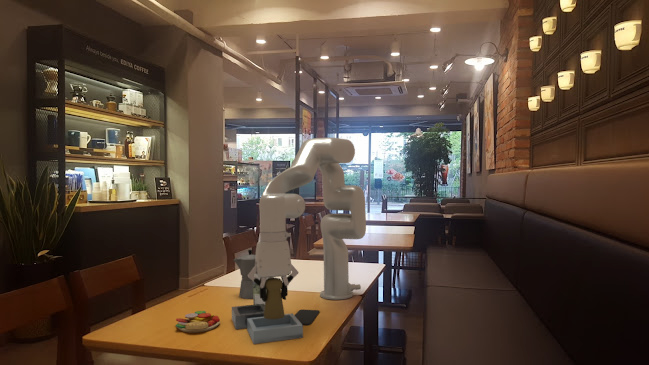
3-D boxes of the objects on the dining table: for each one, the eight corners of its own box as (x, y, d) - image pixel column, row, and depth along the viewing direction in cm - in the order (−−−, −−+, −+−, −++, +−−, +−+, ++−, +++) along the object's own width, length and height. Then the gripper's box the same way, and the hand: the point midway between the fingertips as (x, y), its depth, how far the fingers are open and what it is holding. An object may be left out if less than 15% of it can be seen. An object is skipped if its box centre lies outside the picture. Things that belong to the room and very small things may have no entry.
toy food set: (195, 337, 127) (195, 326, 127) (165, 330, 134) (165, 319, 134) (228, 324, 138) (228, 314, 138) (199, 318, 145) (199, 308, 145)
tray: (292, 324, 136) (292, 313, 136) (302, 337, 125) (302, 325, 125) (247, 330, 132) (247, 318, 132) (253, 344, 120) (253, 331, 120)
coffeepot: (236, 301, 164) (235, 252, 164) (231, 295, 173) (230, 249, 173) (276, 296, 170) (275, 249, 170) (269, 290, 179) (268, 246, 179)
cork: (280, 319, 125) (280, 280, 125) (260, 318, 126) (260, 280, 126) (287, 313, 131) (286, 276, 130) (267, 312, 132) (267, 275, 132)
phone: (320, 310, 150) (310, 324, 135) (320, 312, 150) (310, 326, 135) (299, 309, 151) (286, 322, 137) (299, 311, 151) (286, 325, 137)
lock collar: (279, 310, 152) (279, 298, 152) (289, 323, 138) (289, 310, 138) (230, 315, 146) (230, 303, 146) (235, 329, 132) (235, 316, 132)
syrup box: (274, 305, 157) (274, 265, 157) (267, 310, 152) (266, 268, 152) (260, 304, 159) (260, 264, 159) (252, 308, 154) (252, 267, 154)
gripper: (298, 234, 134) (298, 293, 134) (241, 237, 129) (242, 299, 129) (304, 237, 127) (305, 300, 127) (245, 240, 122) (246, 306, 122)
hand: (273, 298), depth 128 cm, fingers closed on cork, 5 cm apart
